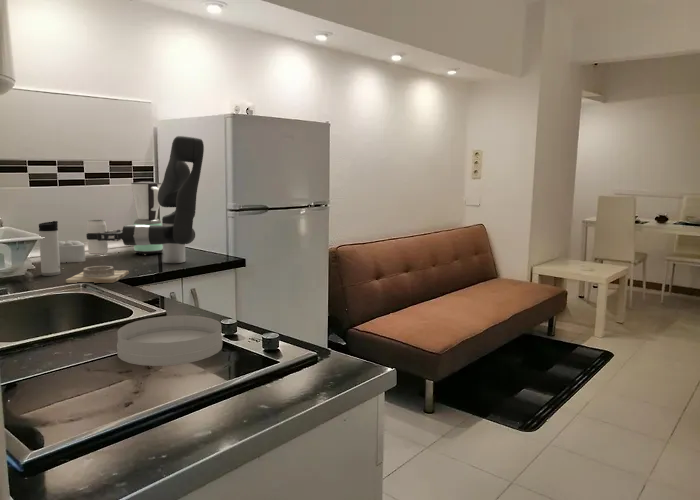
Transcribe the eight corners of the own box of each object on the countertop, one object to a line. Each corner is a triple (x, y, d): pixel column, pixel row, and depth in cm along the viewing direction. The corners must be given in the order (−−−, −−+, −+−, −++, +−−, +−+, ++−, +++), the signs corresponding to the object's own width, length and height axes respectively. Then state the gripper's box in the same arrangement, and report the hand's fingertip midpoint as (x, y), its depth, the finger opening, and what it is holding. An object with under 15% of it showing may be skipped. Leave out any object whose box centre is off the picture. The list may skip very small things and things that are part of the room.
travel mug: (64, 273, 206) (62, 221, 203) (49, 276, 200) (45, 222, 197) (53, 272, 208) (50, 220, 206) (37, 274, 202) (34, 221, 200)
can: (100, 254, 193) (98, 221, 192) (84, 253, 194) (82, 220, 193) (111, 252, 199) (110, 219, 198) (96, 251, 201) (94, 219, 199)
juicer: (127, 253, 262) (124, 180, 257) (152, 250, 271) (150, 180, 267) (146, 257, 249) (143, 181, 244) (172, 254, 259) (170, 181, 254)
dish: (239, 339, 128) (238, 318, 127) (192, 371, 106) (191, 347, 105) (154, 332, 132) (154, 312, 132) (93, 361, 111) (92, 338, 110)
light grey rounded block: (85, 261, 235) (84, 241, 234) (51, 263, 229) (50, 243, 228) (85, 258, 244) (84, 239, 243) (52, 259, 238) (51, 240, 237)
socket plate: (85, 273, 206) (85, 264, 206) (129, 273, 208) (128, 264, 207) (66, 282, 188) (65, 272, 188) (113, 282, 190) (113, 272, 190)
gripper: (142, 223, 204) (96, 223, 202) (131, 226, 190) (82, 226, 188) (143, 243, 205) (98, 243, 203) (132, 247, 191) (83, 248, 189)
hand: (90, 235), depth 196 cm, fingers closed on can, 6 cm apart
